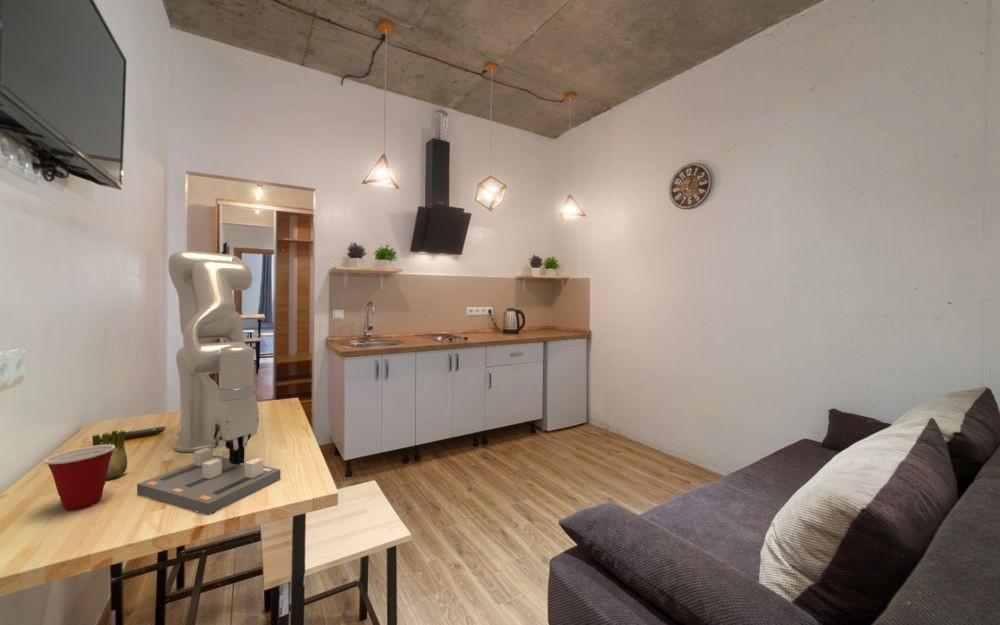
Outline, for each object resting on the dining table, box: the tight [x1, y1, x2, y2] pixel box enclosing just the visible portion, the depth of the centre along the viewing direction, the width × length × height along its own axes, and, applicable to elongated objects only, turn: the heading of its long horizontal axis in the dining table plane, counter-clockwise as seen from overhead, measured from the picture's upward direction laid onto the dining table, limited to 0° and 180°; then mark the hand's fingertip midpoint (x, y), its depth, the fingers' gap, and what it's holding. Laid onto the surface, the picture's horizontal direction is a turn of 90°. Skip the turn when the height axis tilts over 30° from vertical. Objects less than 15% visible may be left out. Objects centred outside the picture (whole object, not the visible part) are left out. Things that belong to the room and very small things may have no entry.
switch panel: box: [136, 454, 281, 516], centre depth 97 cm, size 24×18×3 cm
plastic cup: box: [43, 444, 115, 512], centre depth 87 cm, size 11×11×12 cm
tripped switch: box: [202, 459, 222, 479], centre depth 96 cm, size 2×3×4 cm
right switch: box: [244, 457, 264, 478], centre depth 97 cm, size 2×3×4 cm
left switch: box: [193, 448, 214, 466], centre depth 103 cm, size 2×3×4 cm
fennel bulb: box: [92, 429, 128, 481], centre depth 100 cm, size 6×5×12 cm
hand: (237, 462), depth 102 cm, fingers closed
